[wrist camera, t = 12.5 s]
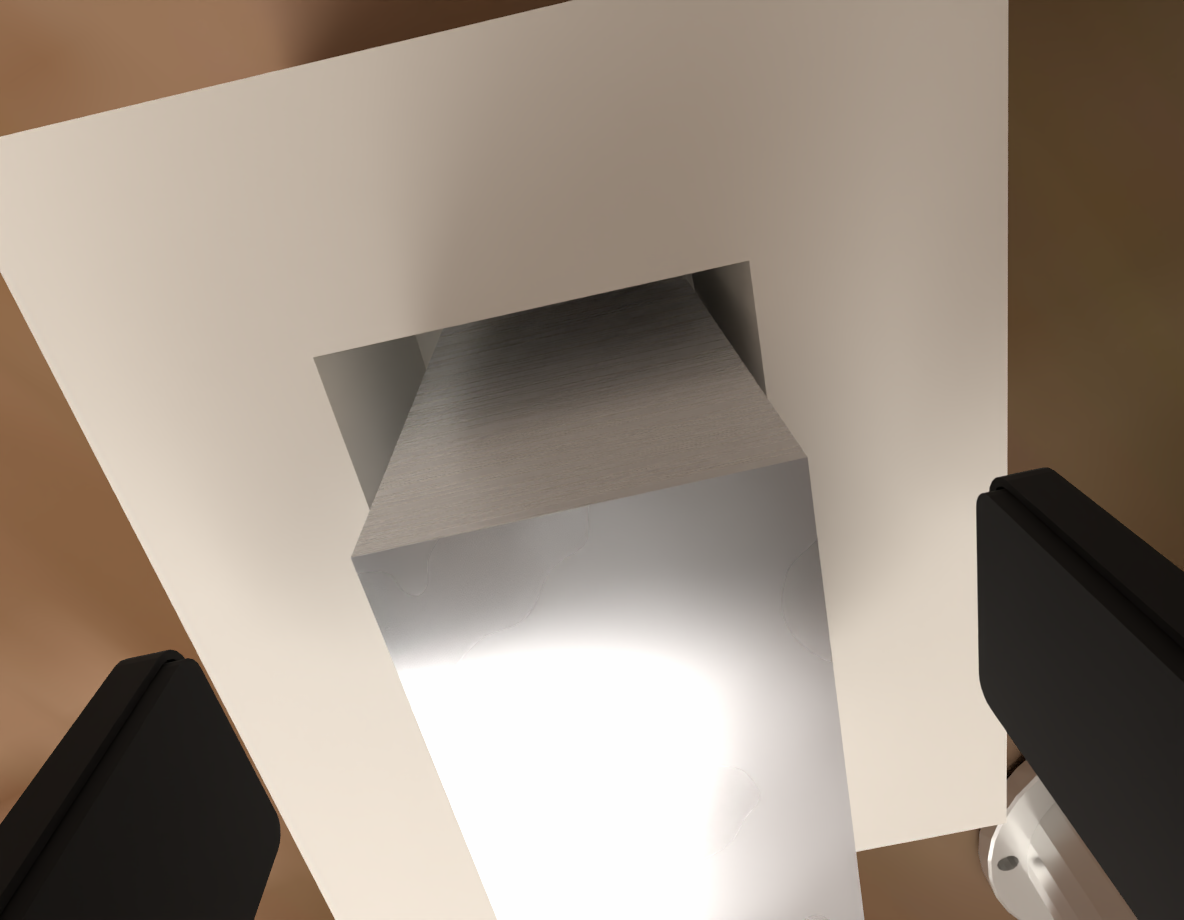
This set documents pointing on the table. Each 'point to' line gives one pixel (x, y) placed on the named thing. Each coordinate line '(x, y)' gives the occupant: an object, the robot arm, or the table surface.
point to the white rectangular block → (616, 618)
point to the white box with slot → (521, 282)
